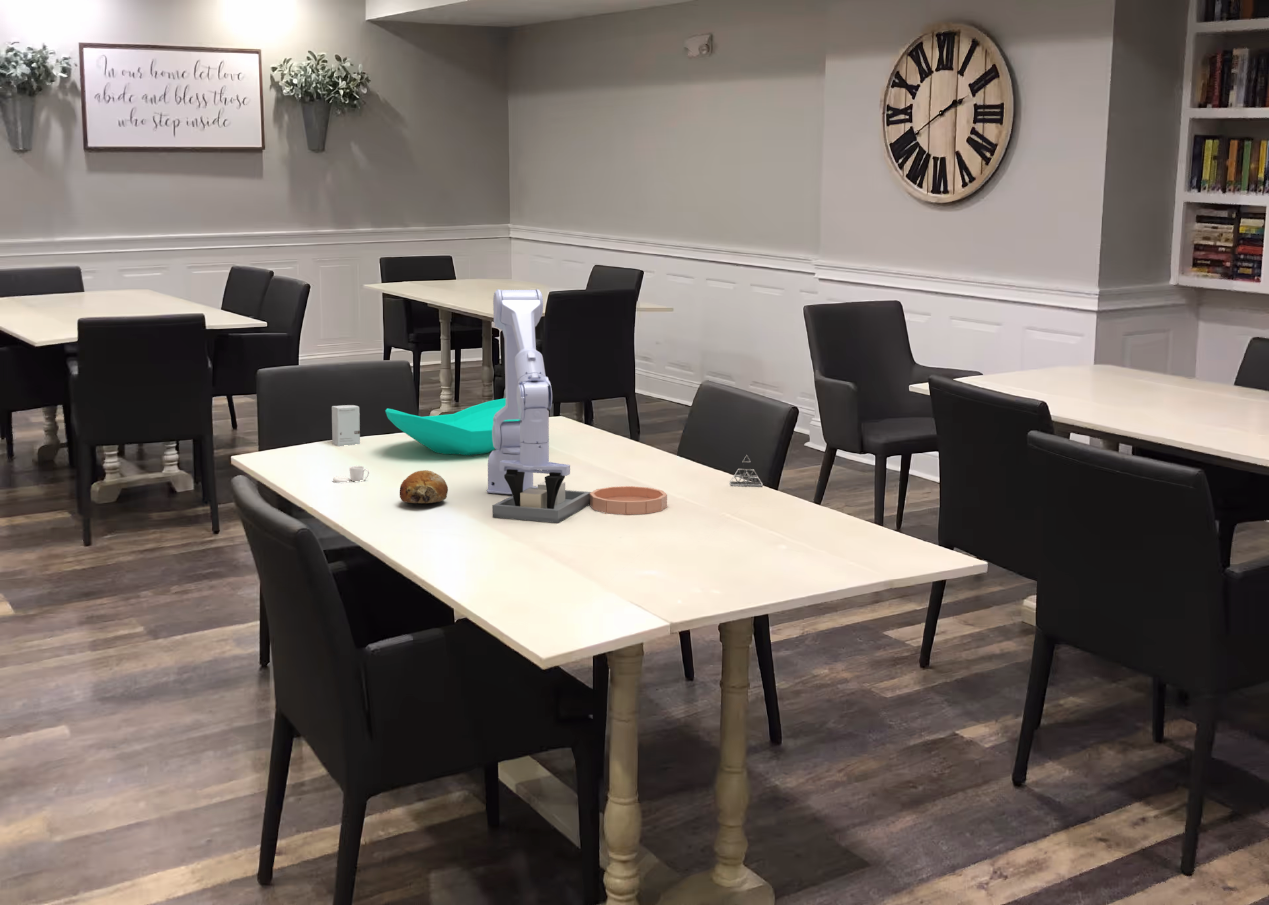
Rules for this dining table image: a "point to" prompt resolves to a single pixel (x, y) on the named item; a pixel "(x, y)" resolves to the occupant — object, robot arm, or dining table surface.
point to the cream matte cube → (533, 498)
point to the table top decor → (452, 428)
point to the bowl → (628, 500)
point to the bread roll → (423, 488)
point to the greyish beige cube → (560, 495)
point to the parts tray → (556, 515)
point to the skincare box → (345, 425)
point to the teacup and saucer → (353, 474)
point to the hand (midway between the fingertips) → (534, 508)
